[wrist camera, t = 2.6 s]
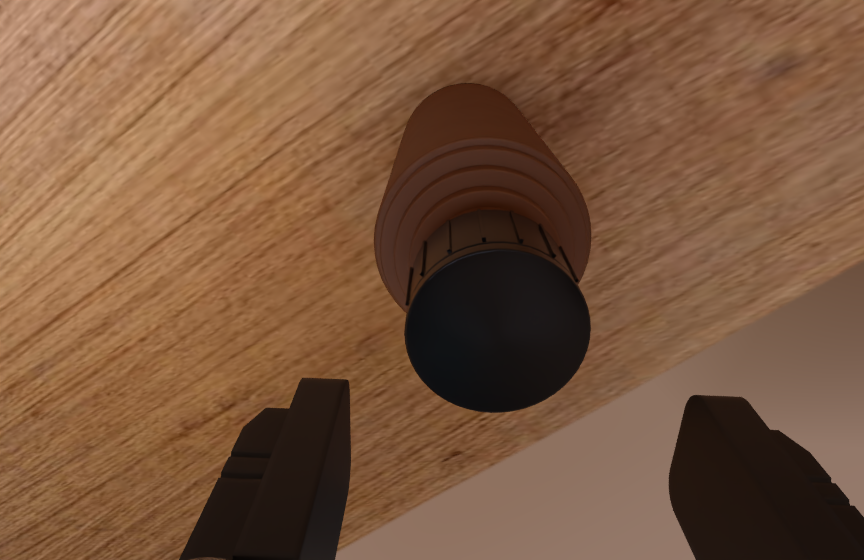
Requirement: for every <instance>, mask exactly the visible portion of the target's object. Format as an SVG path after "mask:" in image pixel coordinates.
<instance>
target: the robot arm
mask: <svg viewBox="0 0 864 560" xmlns="http://www.w3.org/2000/svg"><path fill="white" fill-rule="evenodd" d="M350 467H351V438H350V389H349V382H348V380H345V379H321V378H302V379H301V380H300V382H299V385H298V388H297V390H296V393H295V395H294V398H293V400H292V403H291V406H290V408H289V409H284V408H265V409H264V410H263V411H262V412H261V413H259V414H258V415H257V416H256V417H255V418H254V419H252V420H251V421H250V422H249V423H248V424H247V425H245V426H244V427H243V429H242V431H241V433H240V435H239V437H238V439H237V441H236V443H235V445H234V447H233V449H232V451H231V457H229V458H228V460H227V462H226V464H225V466H224V468H223V470H222V472H221V478H218V480H217V482H216V484H215V487H214V489H213V491H212V493H211V495H210V497H209V499H208V501H207V503H206V505H205V507H204V509H203V511H202V513H201V515H200V518H199V520H198V522H197V524H196V526H195V528H194V530H193V532H192V534H191V536H190V538H189V540H188V542H187V544H186V547H185V549H184V551H183V553H182V555H181V557H180V559H179V560H335V557H336V551H337V546H338V541H339V536H340V531H341V526H342V521H343V516H344V511H345V506H346V501H347V496H348V489H349V481H350ZM669 494H670V500H671V504H672V507H673V511H674V513H675V515H676V517H677V520H678V522H679V524H680V526H681V528H682V530H683V533H684V535H685V537H686V539H687V541H688V543H689V546H690V548H691V550H692V552H693V554H694V556H695V559H696V560H864V517H863V516H862V515H861V514H860V512H859V511H858V510H857V509H856V507H855V506H850V504H849V499H848V498H847V497H846V495H845V494H844V493H843V492H842V491H841V490H840V488H839V487H838V486H837V485H836V484H835V483H832V482H831V477H830V476H829V475H828V474H827V473H826V471H825V470H824V469H823V468H822V467H821V465H820V464H819V463H818V462H817V461H816V459H815V458H814V457H813V456H812V454H811V453H810V452H808V451H807V450H805V449H804V448H803V447H801V446H800V445H799V444H797V443H795V442H794V441H793V440H791V439H790V438H789V437H787V436H786V435H784V434H783V433H782V432H780V431H779V430H770V429H769V428H768V427H767V426H766V424H765V423H764V422H763V420H762V419H761V418H760V416H759V415H758V414H757V413H756V411H755V410H754V409H753V408H752V406H751V405H750V404H749V402H748V401H747V400H745V399H744V398H742V397H728V396H704V395H693V396H691V397H690V398H689V400H688V401H687V403H686V406H685V410H684V414H683V418H682V422H681V427H680V431H679V435H678V439H677V443H676V447H675V451H674V455H673V460H672V464H671V468H670V473H669Z"/></svg>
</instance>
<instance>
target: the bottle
mask: <svg viewBox="0 0 864 560" xmlns="http://www.w3.org/2000/svg"><path fill="white" fill-rule="evenodd" d="M477 209H480V210H493V209H495V210H505V211H509V212H510V210H512V211H514V213H517V214H520V215H522V216H525V217H527V218H529V219H531V220H533V221H534V222H536V223H537V224H539V223H541V224H542V225H543V227H544V229H545V230H546V231H547V232H548V233H549V234H550V235H551V236H552V238H553V239H554V240H555V241H556V243H557V245H558V246H562V248H563V250H564V252H565V254H566V256H567V258H568V260H569V262H570V264H571V266H572V268H573V270H574V272H575V274H576V276H577V278H578V280H579V282H580V280H581V278H582V276H583V274H584V271H585V268H586V266H587V263H588V258H589V254H590V248H591V223H590V218H589V213H588V209H587V206H586V203H585V201H584V198H583V196H582V194H581V192H580V190H579V188H578V186H577V184H576V183H575V182H574V180H573V179H572V178H571V176H570V175H569V173H568V172H567V171H566V170H565V168H564V167H563V166H562V164H561V163H560V162H559V161H558V159H557V158H556V157H555V156H554V154H553V153H552V152H551V150H550V149H549V148H548V147H547V145H546V144H545V143H544V141H543V140H542V139H541V138H540V136H539V135H538V134H537V133H536V131H535V130H534V129H533V127H532V126H531V125H530V124H529V122H528V121H527V120H526V118H525V117H524V116H523V115H522V113H521V112H520V111H519V110H518V108H517V107H516V106H515V105H514V104H513V103H512V101H511V100H510V99H508V98H507V97H506V96H505V95H503V94H502V93H500V92H498V91H497V90H495V89H492V88H490V87H487V86H483V85H480V84H472V83H464V84H456V85H451V86H448V87H444V88H442V89H440V90H438V91H436V92H434V93H433V94H431V95H430V96H428V97H427V98H426V99H425V100H424V101H422V102H421V104H420V105H419V106H418V107H417V108H416V109H415V111H414V112H413V114H412V115H411V117H410V119H409V121H408V123H407V126H406V129H405V131H404V134H403V138H402V141H401V144H400V147H399V150H398V153H397V156H396V159H395V162H394V165H393V168H392V171H391V175H390V178H389V181H388V184H387V187H386V190H385V193H384V196H383V199H382V202H381V205H380V208H379V212H378V215H377V220H376V224H375V232H374V250H375V258H376V262H377V267H378V270H379V273H380V276H381V278H382V281H383V283H384V284H385V286H386V288H387V290H388V292H389V293H390V295H391V296H392V297H393V299H394V300H395V302H396V303H397V304H398V305H399V306H400V307H401V308H402V309H403V310H404V311H405V312H406V313H407V306H406V305H405V301H406V293H407V286H408V278H409V270H410V267H413V264H414V261H415V258H416V256H417V254H418V252H419V250H420V248H421V247H422V242H423V241H424V240H425V241H426V240H427V238H428V237H429V236H430V235H431V234H432V233H433V232H434V231H435V230H436V229H438V228H439V227H440V226H441V225H443V224H444V223H446V220H448V219H449V220H451V219H453V218H455V217H457V216H460V215H462V214H465V213H469V212H473V211H477ZM579 282H577V284H579Z"/></svg>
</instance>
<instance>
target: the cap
mask: <svg viewBox="0 0 864 560" xmlns="http://www.w3.org/2000/svg"><path fill="white" fill-rule="evenodd" d="M577 282H579V280H578V278H577V276H576V274H575V272H574V270H573V268H572V266H571V264H570V262H569V260H568V258H567V256H566V254H565V252H564V250H563V248H562V246H558V245H557V243H556V241H555V240H554V239H553V238H552V236H551V235H550V234H549V233H548V232H547V231H546V230H545V229H544V227H543V225H542V224H541V223H539V224H537V223H536V222H534V221H533V220H531V219H529V218H527V217H525V216H522V215H520V214H517V213H514V211H512V210H510V212H509V211H505V210H495V209H493V210H480V209H477V211H473V212H469V213H465V214H462V215H460V216H457V217H455V218H453V219H451V220H449V219H448V220H446V223H444V224H443V225H441V226H440V227H439V228H438V229H436V230H435V231H434V232H433V233H432V234H431V235H430V236H429V237H428V238H427V240H426V241H425V240H424V241H423V242H422V247H421V248H420V250H419V252H418V254H417V256H416V258H415V261H414V264H413V267H410V270H409V278H408V286H407V293H406V301H405V305H406V306H407V314H406V322H405V333H404V335H405V344H406V349H407V353H408V356H409V359H410V362H411V364H412V366H413V367H414V369H415V371H416V373H417V374H418V375H419V377H420V378H421V380H422V381H423V382H424V383H425V384H426V385H427V386H428V387H429V388H430V389H431V390H432V391H433V392H435V393H436V394H437V395H439V396H440V397H442V398H443V399H445V400H447V401H448V402H451V403H453V404H455V405H457V406H460V407H463V408H466V409H469V410H474V411H479V412H489V413H500V412H510V411H516V410H520V409H524V408H527V407H530V406H533V405H535V404H537V403H540V402H542V401H544V400H546V399H547V398H549V397H550V396H552V395H554V394H555V393H556V392H557V391H559V390H560V389H561V388H562V387H564V386H565V385H566V384H567V382H568V381H569V380H570V379H571V378H572V377H573V376H574V374H575V373H576V372H577V370H578V369H579V367H580V365H581V363H582V361H583V359H584V357H585V354H586V352H587V349H588V345H589V340H590V331H591V325H590V315H589V310H588V306H587V304H586V301H585V298H584V296H583V294H582V292H581V290H580V288H579V286H578V284H577Z"/></svg>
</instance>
